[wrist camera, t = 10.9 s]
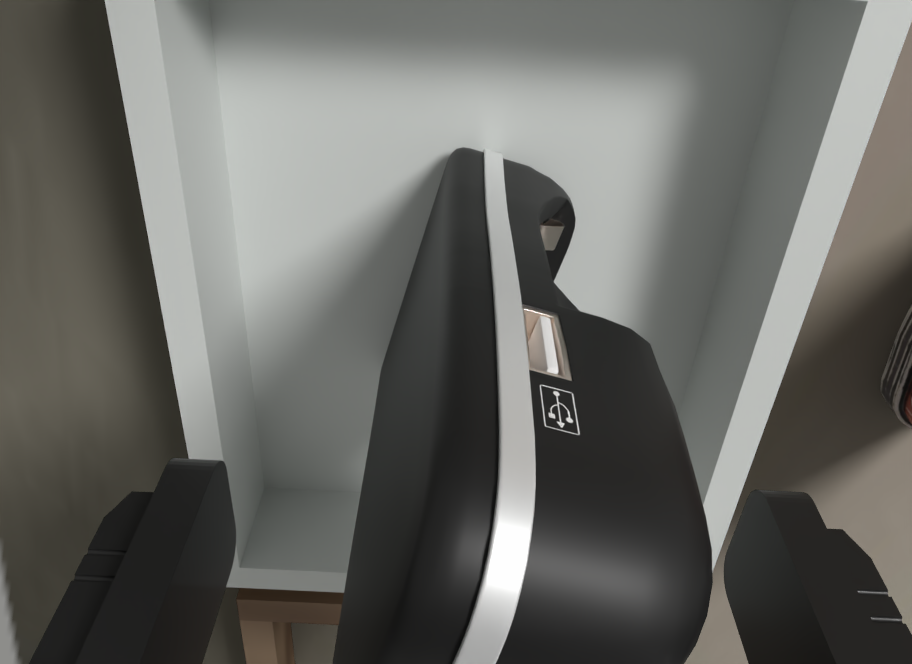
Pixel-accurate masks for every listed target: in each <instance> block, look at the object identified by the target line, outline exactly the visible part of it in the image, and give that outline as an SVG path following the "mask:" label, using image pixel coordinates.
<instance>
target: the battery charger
mask: <svg viewBox="0 0 912 664" xmlns="http://www.w3.org/2000/svg"><path fill="white" fill-rule="evenodd" d="M575 221H576V218H575V213H574V208H573V204H572V202H571V200H570V198H569V196H568V195H567V193H566V192H565V191H564V190H563V188H561V187H560V186H559V185H558V184H557V183H556V182H554V181H553V180H552V179H551V178H550V177H548V176H546V175H544V174H542V173H540V172H538V171H536V170H535V169H533V168H531V167H530V166H527V165H523V164H520V163H517V162H514V161H510V160H507V159H504V158H503V155H502V153H499V152H495V151H492V150H489V149H486V148H484V150H483V151H482V152H481V151H478V150H474V149H471V148H465V147H462V148H458V149H456V150H455V151H453V152H452V153H451V155H450V157H449V159H448V161H447V163H446V166H445V169H444V172H443V176H442V179H441V182H440V185H439V188H438V191H437V194H436V197H435V200H434V204H433V207H432V210H431V213H430V216H429V219H428V222H427V225H426V229H425V232H424V235H423V238H422V241H421V244H420V247H419V251H418V254H417V257H416V260H415V263H414V266H413V269H412V272H411V276H410V279H409V282H408V285H407V288H406V291H405V295H404V298H403V301H402V304H401V307H400V310H399V314H398V317H397V320H396V323H395V326H394V329H393V333H392V336H391V339H390V342H389V345H388V349H387V352H386V355H385V358H384V361H383V364H382V368H381V372H380V379H379V385H378V391H377V398H376V404H375V410H374V416H373V423H372V429H371V435H370V441H369V447H368V453H367V459H366V465H365V470H364V476H363V482H362V488H361V494H360V500H359V506H358V512H357V518H356V523H355V529H354V535H353V541H352V547H351V553H350V559H349V565H348V571H347V577H346V583H345V589H344V596H343V602H342V608H341V614H340V620H339V626H338V633H337V639H336V645H335V651H334V658H333V664H684V663H685V661H686V660H687V658H688V657H689V655H690V653H691V652H692V650H693V649H694V647H695V645H696V643H697V640H698V638H699V635H700V632H701V630H702V627H703V625H704V622H705V619H706V617H707V613H708V607H709V601H710V595H711V589H712V583H713V582H712V547H711V542H710V537H709V531H708V526H707V520H706V515H705V511H704V508H703V504H702V500H701V496H700V492H699V488H698V484H697V480H696V477H695V473H694V469H693V466H692V462H691V459H690V455H689V451H688V448H687V444H686V441H685V437H684V434H683V431H682V427H681V424H680V421H679V417H678V414H677V411H676V408H675V405H674V402H673V400H672V398H671V395H670V393H669V391H668V388H667V386H666V384H665V381H664V379H663V377H662V374H661V372H660V370H659V367H658V364H657V361H656V358H655V356H654V353H653V350H652V347H651V345H650V343H649V342H647V341H646V340H645V339H644V338H642V337H641V336H640V335H638V334H637V333H636V332H635V331H633V330H632V329H631V328H628V327H625V326H623V325H620V324H618V323H615V322H613V321H610V320H607V319H605V318H602V317H599V316H595V315H592V314H588V313H584V312H581V311H579V310H578V309H577V308H576V306H575V305H574V304H573V303H572V302H571V301H570V300H569V299H568V298H567V297H566V296H565V295H564V293H563V292H562V291H561V290H560V289H559V288H558V287H557V285H556V284H555V283H554V280H555V278H556V275H557V273H558V271H559V269H560V266H561V264H562V262H563V259H564V257H565V255H566V253H567V250H568V248H569V245H570V242H571V239H572V236H573V232H574V229H575Z"/></svg>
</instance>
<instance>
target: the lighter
mask: <svg viewBox="0 0 912 664" xmlns="http://www.w3.org/2000/svg"><path fill="white" fill-rule="evenodd" d="M880 391H881V393H882V395H883V397H884V399H885V401H886V402H887V404H888V405H889V406H890V408H891V409H892V411H893V412H894V413H895V415H896V416H897V417H898V419H899V420H900V421H901V422H902V423H904V424H905V425H906V426H908V427H909V428H910V429H912V304H911V306H910V308H909V311H908V313H907V315H906V317H905V319H904V321H903V323H902V325H901V327H900V329H899V331H898V333H897V336H896V339H895V342H894V345H893V347H892V350H891V353H890V356H889V359H888V362H887V365H886V367H885V370H884V373H883V376H882V379H881V389H880Z"/></svg>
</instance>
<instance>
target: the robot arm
mask: <svg viewBox="0 0 912 664" xmlns="http://www.w3.org/2000/svg"><path fill="white" fill-rule="evenodd" d="M235 548H236V525H235V518H234V512H233V506H232V499H231V493H230V486H229V480H228V474H227V468H226V465H225V463H224V461H221V460H202V459H183V458H173V459H171V460H170V461H169V462H168V464H167V465H166V467H165V469H164V472H163V474H162V476H161V478H160V480H159V482H158V485H157V487H156V489H155V491H154V493H152V492H131V493H130V494H129V495H128V496H127V497H126V498H124V499H123V500H122V501H121V502H120V503H119V504H118V505H117V506H116V507H115V508H114V509H113V510H112V511H111V512H110V513H108V514H107V515H106V516H105V517H104V519H103V521H102V523H101V524H100V526H99V528H98V530H97V532H96V534H95V536H94V538H93V540H92V542H91V544H90V546H89V548H88V554H87V555H85V556H84V558H83V560H82V561H81V563H80V565H79V567H78V569H77V571H76V573H75V579H74V581H71V583H70V585H69V587H68V589H67V591H66V593H65V595H64V596H63V598H62V600H61V602H60V604H59V606H58V608H57V610H56V612H55V614H54V616H53V618H52V620H51V622H50V624H49V626H48V628H47V630H46V631H45V633H44V635H43V637H42V639H41V641H40V643H39V645H38V647H37V649H36V651H35V653H34V655H33V657H32V659H31V661H30V663H29V664H202V662H203V659H204V656H205V653H206V650H207V646H208V643H209V640H210V637H211V634H212V630H213V627H214V624H215V621H216V618H217V614H218V611H219V608H220V605H221V602H222V598H223V595H224V592H225V589H226V586H227V582H228V579H229V576H230V573H231V569H232V566H233V561H234V556H235ZM724 583H725V589H726V594H727V598H728V601H729V604H730V607H731V610H732V613H733V616H734V619H735V622H736V625H737V629H738V632H739V635H740V638H741V641H742V644H743V647H744V650H745V653H746V656H747V660H748V663H749V664H912V635H911V633H910V631H909V629H908V627H907V625H906V624H903V623H902V616H901V614H900V612H899V610H898V608H897V606H896V605H895V603H894V601H893V599H892V597H889V596H888V589H887V588H886V586H885V584H884V582H883V580H882V578H881V576H880V574H879V572H878V571H877V569H876V567H875V565H874V563H873V561H872V559H871V558H870V557H869V556H868V555H867V554H866V553H865V552H864V551H863V550H862V549H861V548H860V547H859V546H858V545H857V544H856V543H855V542H854V541H853V540H852V539H851V538H850V537H849V536H848V535H847V534H846V533H845V532H844V531H843V530H842V529H827V528H826V526H825V524H824V522H823V520H822V518H821V516H820V514H819V512H818V509H817V507H816V505H815V503H814V502H813V500H812V498H811V497H810V496H809V495H808V494H806V493H804V492H787V491H767V490H754V491H752V492H751V493H750V495H749V496H748V499H747V501H746V504H745V506H744V509H743V511H742V514H741V517H740V519H739V522H738V524H737V527H736V529H735V532H734V535H733V537H732V540H731V542H730V545H729V548H728V550H727V553H726V556H725V562H724Z"/></svg>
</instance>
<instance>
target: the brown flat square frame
mask: <svg viewBox="0 0 912 664" xmlns="http://www.w3.org/2000/svg"><path fill="white" fill-rule="evenodd" d="M343 596H344V593H341V592H319V591H298V590H277V589H256V588H239V592H238V595H237V598H236V601H237V607H238V614H239V620H240V626H241V633H242V639H243V645H244V651H245V658H246V664H295V660H294V650H293V641H292V631H291V623H308V624H330V625H339V620H340V614H341V608H342V602H343Z"/></svg>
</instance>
